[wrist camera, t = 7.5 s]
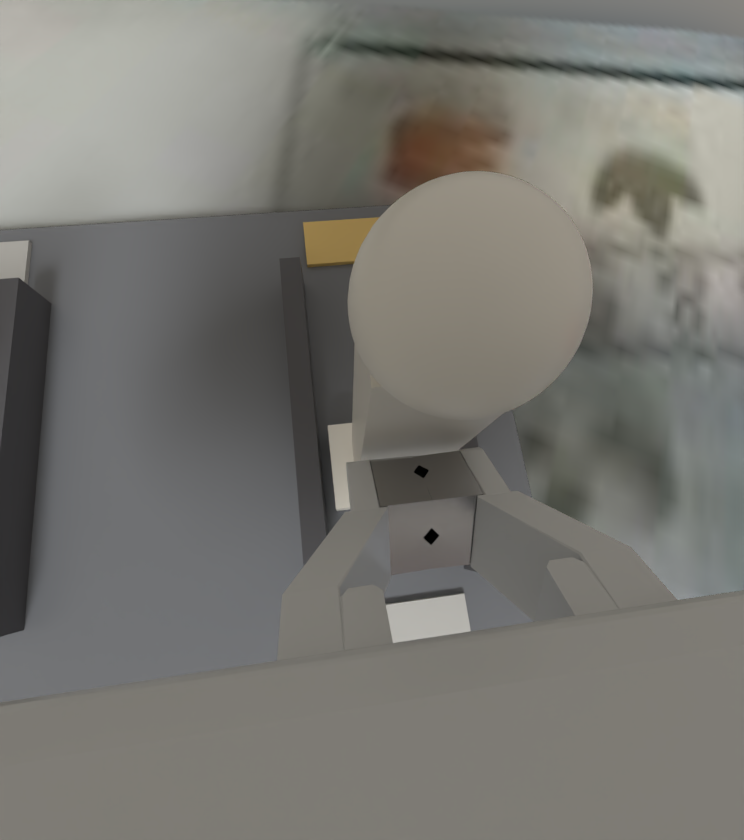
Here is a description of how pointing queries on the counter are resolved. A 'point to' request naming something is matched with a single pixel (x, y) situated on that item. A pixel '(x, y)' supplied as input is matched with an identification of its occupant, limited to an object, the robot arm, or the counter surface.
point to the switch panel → (184, 446)
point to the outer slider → (458, 315)
